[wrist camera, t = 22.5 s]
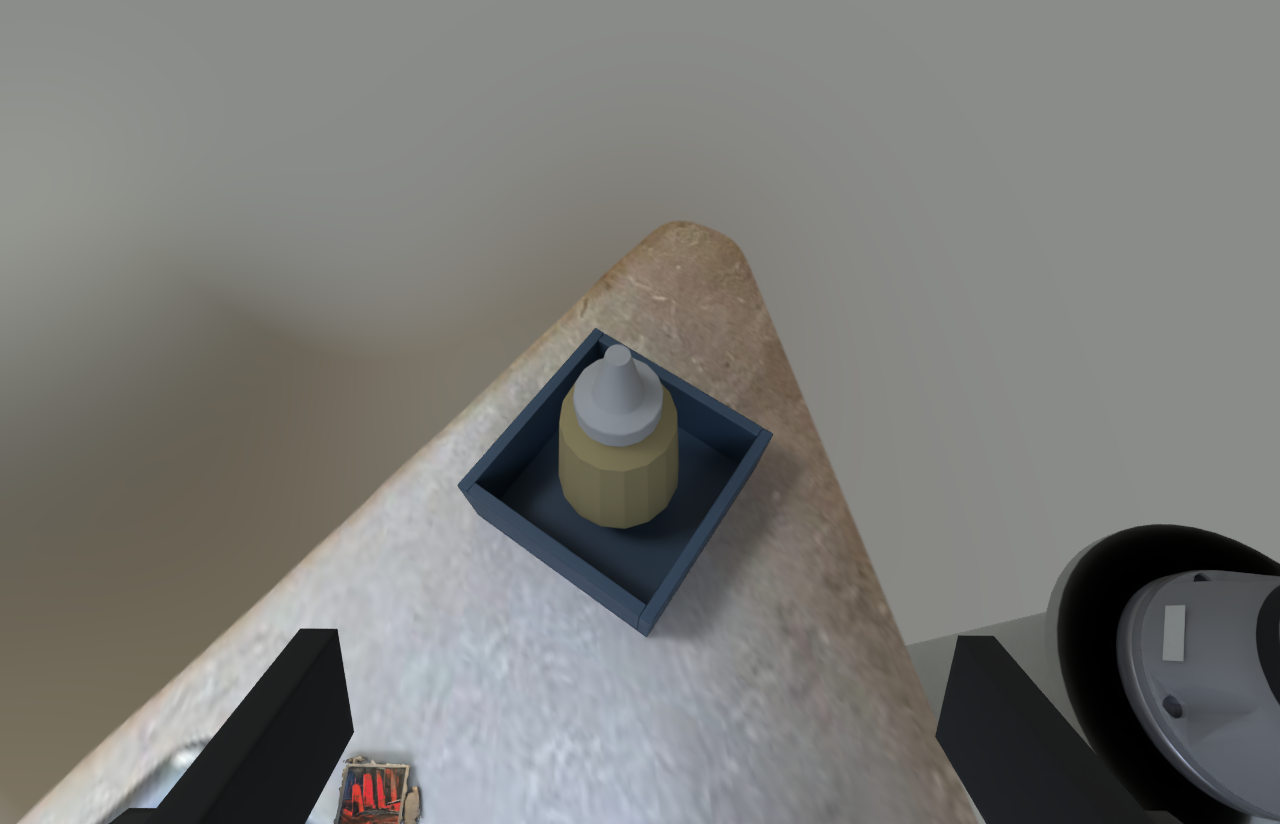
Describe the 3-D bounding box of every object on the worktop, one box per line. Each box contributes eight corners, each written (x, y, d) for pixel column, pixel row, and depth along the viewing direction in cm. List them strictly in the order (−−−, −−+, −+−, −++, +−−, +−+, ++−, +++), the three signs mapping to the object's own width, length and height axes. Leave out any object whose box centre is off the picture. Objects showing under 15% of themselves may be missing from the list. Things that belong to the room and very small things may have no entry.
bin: (755, 467, 45) (773, 433, 39) (646, 637, 39) (650, 625, 34) (598, 370, 48) (595, 327, 43) (477, 514, 43) (456, 485, 37)
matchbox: (336, 865, 33) (332, 867, 33) (334, 762, 36) (331, 763, 35) (422, 840, 34) (419, 841, 34) (415, 740, 36) (412, 740, 36)
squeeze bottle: (594, 564, 41) (576, 467, 25) (544, 466, 44) (500, 323, 28) (695, 510, 43) (740, 387, 27) (641, 420, 46) (652, 261, 30)
